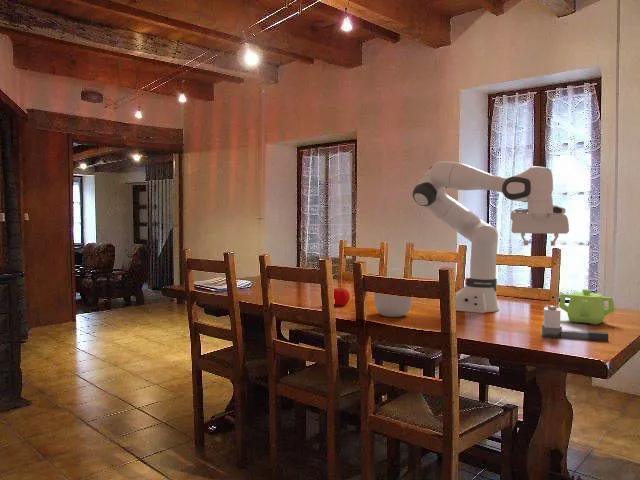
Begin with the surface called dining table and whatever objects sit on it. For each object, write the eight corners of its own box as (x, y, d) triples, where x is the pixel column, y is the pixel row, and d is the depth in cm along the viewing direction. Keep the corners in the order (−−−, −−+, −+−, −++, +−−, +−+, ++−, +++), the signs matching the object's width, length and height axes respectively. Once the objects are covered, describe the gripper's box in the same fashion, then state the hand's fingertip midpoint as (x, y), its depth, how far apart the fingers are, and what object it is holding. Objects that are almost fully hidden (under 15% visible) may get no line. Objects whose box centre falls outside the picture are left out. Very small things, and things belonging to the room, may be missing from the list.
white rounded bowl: (375, 311, 235) (375, 277, 235) (413, 312, 232) (414, 278, 231) (371, 318, 219) (371, 281, 218) (412, 320, 215) (412, 283, 215)
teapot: (612, 330, 197) (613, 295, 196) (554, 324, 207) (555, 291, 206) (615, 321, 212) (616, 289, 211) (561, 316, 223) (561, 285, 222)
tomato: (325, 305, 249) (325, 288, 248) (337, 302, 257) (337, 285, 257) (342, 307, 244) (342, 289, 243) (354, 304, 252) (354, 287, 252)
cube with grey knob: (544, 327, 185) (544, 306, 184) (543, 324, 189) (544, 304, 189) (560, 328, 183) (560, 307, 183) (558, 325, 188) (559, 305, 187)
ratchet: (542, 337, 184) (542, 316, 184) (541, 333, 190) (541, 313, 190) (609, 342, 177) (609, 320, 177) (606, 338, 183) (606, 316, 183)
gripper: (510, 209, 201) (510, 245, 202) (569, 208, 194) (569, 246, 195) (510, 209, 207) (510, 244, 208) (568, 209, 200) (567, 245, 201)
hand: (539, 245), depth 201 cm, fingers open, 8 cm apart
